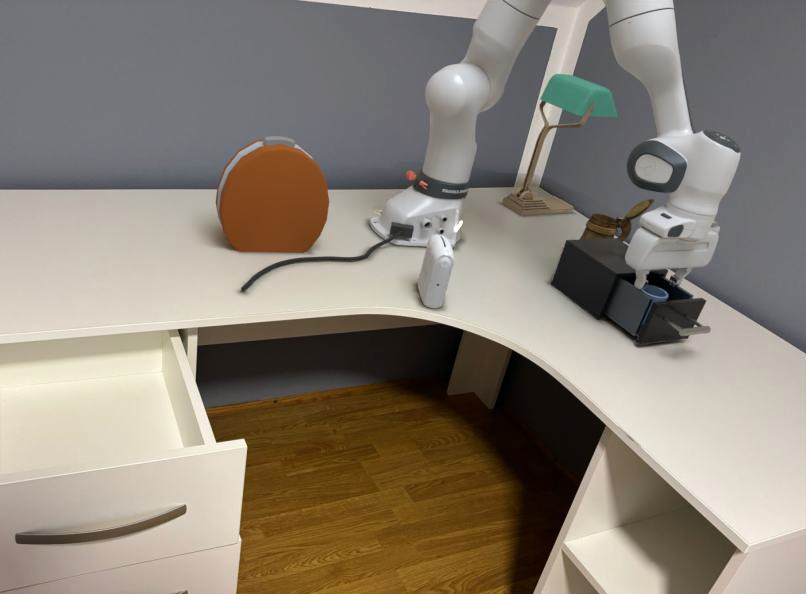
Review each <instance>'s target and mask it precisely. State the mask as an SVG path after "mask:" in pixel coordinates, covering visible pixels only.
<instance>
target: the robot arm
mask: <svg viewBox="0 0 806 594" xmlns="http://www.w3.org/2000/svg"><path fill="white" fill-rule="evenodd" d="M552 1H553V0H487V1H486V2H485V4H484V6H483V8H482V9H481V11H480V12H479V15H478V17H477V18H476V19H475V21H474V23H473V26H472V36H471V40H470V43H469V45H468V49H467V51H466V53H465V56H464V58H463V59H462V60H461V61H460V63H459V62H458V63H454V64H448V65H446V66H444V67H442V68H441V69H439V70H438V71H436V72H435V73H434V74H433V75H432V76H431V77H430V78H429V80H428V81H427V83H426V86H425V90H424V99H425V104H426V105H427V106H426V107H428V109H429V132H428V133H429V135H428V141H427V147H426V151H425V156H424V160H423V164H422V165H423V166H422V168H421V169H420V170H419V172H418V174H417V173H416V172H414V171H413V170H408V171H407V172H406V173H405V177H406V179H408V180H409V181H410V182H412V184H411V186H409V187H407V188H406V189H404V190H402V191H401V192H399V193H398V194H396V195H394V196H393V197H391V198H389V199H388V200H387V201H386V202H385V203H384V205H383V208H382V210H381V213H380V216H372V217H370V220H369V226H370V228H371V230H373V231H374V233H376V234H377V236H379V237H380V238H382V241H380V242H378V243H376V244H374V245H373V246H371V247H370V248H369V249H368V250H367V251H366V252H365V253H364V254H362V255H358V256H334V255H333V256H332V255H329V256H328V255H327V256H325V255H323V256H303V257H293V258H288V259H284V260H280V261H277V262H275V263H272V264H270V265H268V266H266V267H264V268H262V269H261V270H259V271H258V272H256V273H254V275H252V276H251V278H249V280H247V281H246V283H244V285H242V287H241V288H240V290H241V292H245V291H246V290H247V289H249V287H250V286H251V285H252V284H253V283H254V282H255V281H256V280H258V279H259V277H261V276H262V275H264V274H266V273H268V272H269V271H271V270H273V269H275V268H278V267H280V266H281V267H282V266H284V265H289V264H293V263H300V262H319V261H338V262H339V261H340V262H355V261H361V260H364V259H366V258H368V257H369V256H370V255H371V254H372V253H373V251H375V250H376V249H378V248H380V247H382V246H384V245H386V244H389V243H390V244H393V245H395V246H406V247H407V246H408V247H423V248H424V247H426V248H427V243H428V241H429V239H430V237H432V236H433V235H435V234H438V235H443V236H445V237H446V238H447V239H448V241H449V242H450V244H451V247H452V249H454V248H456V243H458V242H460V240H461V238H462V228H461V227H462V225H463V222H464V221H463V220H462V217H463V210H464V203H465V200H466V198H467V196H468V193H469V189H470V185H471V180H470V177H471V174H472V170H473V166H474V164H475V163H474V162H475V160H476V159H475V158H476V154H477V150H478V144H477V141H476V128H477V127H476V125H477V119H478V116H479V114H481V113H485V112H487V111H488V110H490V109H491V108H492V107H494V106H495V105H496V104H497V103H498V102H499V101H500V100H501V98H502V96H503V95H504V93H505V87H506V84H507V81H508V79H509V77H510V74H511V72H512V70H513V67H514V65H515V63H516V60H517V58H518V56H519V54H520V53H521V52H522V49H523V48H524V46H525V44H526V43H527V42H528V39H530V36H531V35H532V33H533V31H534V30H535V28H536V26H537V25H538V23H539V22H540V20H541V19H542V17H543V15H544V14H545V12H546V10H547V9H548V7H549V6H550V3H551V2H552ZM602 2H603V3H604V6H605V10H606V15H607V17H606V18H607V25H608V31H609V32H608V33H609V40H610V45H611V49H612V52H613V55H614V58H615V60H616V63H617V64H618V66H620V67H621V68H622V69H623V70H624V71H626V72H627V73H629V74H630V75H632V76H633V77H635V78H636V79H637V80H638V81H639V82H641V84H642V85H643V86H644V88H645V89H646V91H647V92H648V95H649V99H650V103H651V104H650V105H651V109H652V113H653V119H654V125H655V130H656V137H654V138H650V139H647V140H644V141H642V142H640V143H638V144H637V145H636V146H635V147H633V149H632V150H631V152H630V153H629V155H628V157H627V161H626V172H627V173H626V174H627V176H628V178H629V180H630V182H631V183H632V184H633V185H634V186H636V187H637V188H639V189H641V190H645V191H648V192H649V191H650V192H655V193H660V194H661V193H662V194H667V195H668V197H667V200H666V203H665V204H663V205H660V206H659V207H657V208H655V209H652V210H650V211H646V212H644V213H643V214H642V215H640V218H639V221H638V225H640V227H638V228H637V229H636V230H635V232H634V233H633V236H632V237H631V240H630V242H629V244H628V246H629V247H628V249H627V252H626V255H625V262H626V264H627V265H628V266H630V267H631V268H633V269H635V270H636V278H637V279H636V281H635V283H634V286H635V287H636V288H638V289H645V288H646V287H647V284H648V282H649V281H647V280H646V274H649V272H650V270H659V269H667V270H671V269H672V270H673V269H677V270H676V272H675V273H674V274H671V275H670V277H669V279H668V280H669V281H668V283H669V284H670V285H672V286H673V287H674V286H679V287H681V284H682V282H683V280H684V279H686V277H687V276H688V275H690V273H691V272H692V270H693V268H705V267H707V265H708V264H709V263H710V262H711V261H712V258H713V256H714V253H715V251H716V248H717V245H718V242H719V233H720V230H721V227H720V223H719V222H718V220H715V219H716V217H717V214H718V213H719V206H720V202H721V200H722V199H723V197H724V196H725V195H727V193H728V191H729V189H730V186H731V184H732V182H733V179H734V178H735V175H736V173H737V170H738V167H739V164H740V160H741V152H742V151H741V147H740V145H739V144H738V142H736V141H735V140H734V139H733V138H731V137H730V136H728V135H726V134H724V133H721V132H718V131H715V130H712V129H704V130H701V131H700V132H697V131H696V129H695V126H694V123H693V119H692V115H691V114H692V113H691V109H690V103H689V97H688V92H687V87H686V81H685V76H684V71H683V68H682V62H681V55H680V49H679V42H678V32H677V23H676V14H675V13H676V12H675V5H674V0H602Z"/></svg>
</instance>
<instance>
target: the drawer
mask: <svg viewBox="0 0 806 594" xmlns="http://www.w3.org/2000/svg"><path fill="white" fill-rule="evenodd" d="M636 279H637V278H636V276H625V277H618V278H617V281H616V283H615V285H614V288H613V290H612V293H611V295H610V298H609V300H608V303H607V305H606V307H605V310H604V312H603V313H604V314H605V315H606V316H608V317H609V319H611V320H612V321H613V322H615V324H617V325H618V326H620V327H621V328H622V329H624V330H625V331H626V332H628V333H629V334H630V335H632V336H633V337H636V339H635V342H636V343H637V344H638V345H641V346H642V345H648V344H649V345H650V344H656V343H663V342H672V341H682V340H688V339H689V337H690V336H696V335H705V334H709V333H711V331H712V328H711V327H710V325H703V324H702V323H700V322H699V321H698V319H699V317H700V316H701V313H702V311H703V310H704V307H705V305H706V303H707V299H705V298H703V297H695V296H694V294H692V293H690V292H689V291H687V290H686V289H684V288H682V287H681V286H674V287H673V286H672V285H670V284H669V283H668V281H669V280H670V279H669V278H667V277H664V276H662V275H660V274H656V275H646V280H647V281H649V282H648V284H647V285H653V286H656V287H659V288H661V289H663V290H664V291H666V292H667V293H668V295H669V297H668V299H667V301H660V302H653V304H652V306H651V308H650V311H649V313H648V315H647V317H646V319H645V316H646V314H647V312H648V310H649V307H650V305H651V303H652V301H653V299H652V298H651V297H649V296H648V295H646V294H645V293H643V292H642V291H641V290H639V289H638V288H636V287H635V286H634V283H635V281H636ZM694 297H695V298H694ZM644 319H645V322H644V324H643V325H642V323H643V321H644Z"/></svg>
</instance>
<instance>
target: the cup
mask: <svg viewBox="0 0 806 594" xmlns="http://www.w3.org/2000/svg"><path fill="white" fill-rule="evenodd" d="M639 290H641V291H642V292H643V293H645V294H646V295H648V296H649V297H651V298H652V299H653V301H652V303H651V305H650V307H649V310H648V312H647V314H646V316H645V319H646V317H647V315H648V313H649V311H650V308H651V306H652V304H653V302H660V301H667V299H668V297H669V295H668V293H667V292H666V291H664V290H663V289H661V288H659V287H656V286H653V285H647V287H646V288H645V289H639ZM645 319H644V321H643V323H642V325H643V324H644V322H645Z"/></svg>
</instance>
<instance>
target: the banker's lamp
mask: <svg viewBox="0 0 806 594" xmlns="http://www.w3.org/2000/svg"><path fill="white" fill-rule="evenodd" d="M539 100H540V103H539V107H538V109H539V112H540V115H541V118H542V121H543V126H542V129H541V130H540V132H539V134H538V136H537V139H536V141H535V145H534V148H533V150H532V154H531V157H530V161H529V164H528V167H527V170H526V174H525V177H524V180H523V184H522V186H521V187H518V188H517V189H515V191H514V192H511V193H509V194H508V195H507V196H504V198H503V199H502V202H501V204H502V205H504V206H505V207H507V208H508V209H510V210H512V211H513V212H514V213H516V214H518V215H520V216H522V217H523V216H538V215H540V216H541V215H555V214H572V213H573V211H574V206H573V205H571V204H569V203H568V202H567V201H565V200H563V199H560V198H558V197H557V196H556V195H551V196H550V197H539V196H537V195H535V194H533V192H532V189H531V188H530V187H531V184H532V181H533V177H534V174H535V171H536V168H537V165H538V162H539V159H540V156H541V152H542V149H543V145H544V142H545V140H546V137H547V136H548V134H549V132H550V131H551V130H552V129H562V128H563V129H565V128H568V129H572V128H575V129H577V128H581V127H583V126H584V125H585V124H586V122H587V120H588V119H589V117H607V118H610V117H611V118H618V117H619V116H618V113H617V108H616V105H615V101H614V98H613V95H612V92H611V90H610V89H608V88H607V87H604V86H602V85H600V84H597V83H594V82H591V81H588V80H586V79H583V78H580V77H578V76H575V75H572V74H566V73H555V74H553V75H552V76H551V77H550V78H549V80H548V82H547V83H546V86H545V88H544V90H543V92H542V95H541V96H540V99H539ZM546 104H550V105H552V106H554V107H557V108H559V109H562V110H564V111H566V112H569V113H571V114H574V115H575V116H581V117H582V118H581V120H580V121H578V122H575V123H562V124H550V123H549V121H548V118H547V117H546V115H545V112H544V107H545V106H546Z"/></svg>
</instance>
